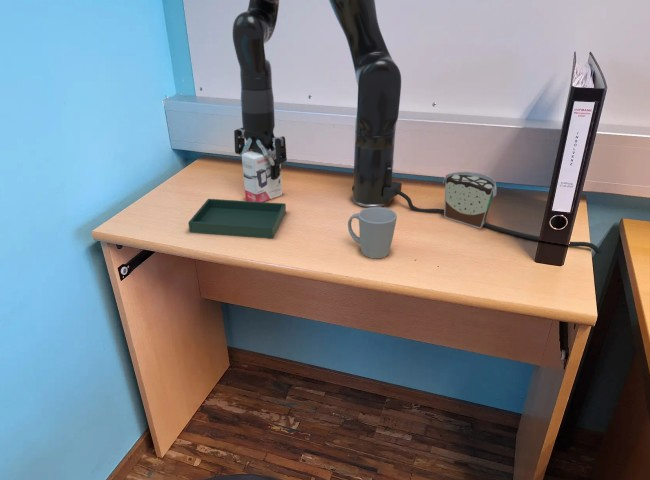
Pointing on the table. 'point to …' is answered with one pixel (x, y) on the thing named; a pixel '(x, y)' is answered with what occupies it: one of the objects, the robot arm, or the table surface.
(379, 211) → the cup
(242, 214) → the desk tray
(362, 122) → the robot arm
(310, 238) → the table surface
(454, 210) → the food container
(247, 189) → the ink box
